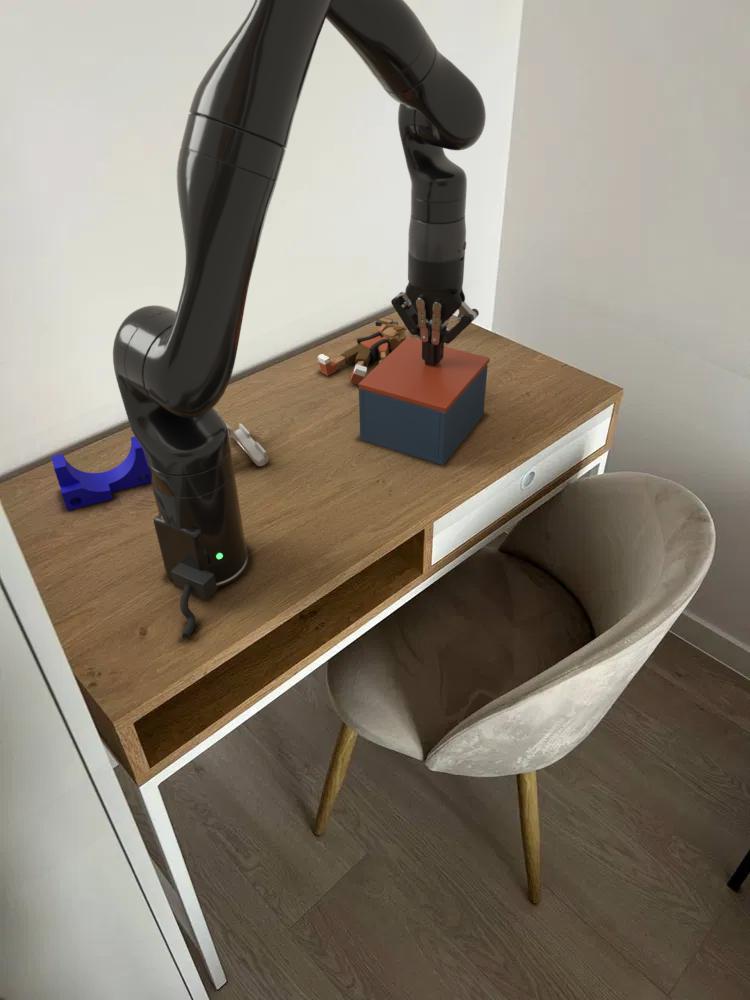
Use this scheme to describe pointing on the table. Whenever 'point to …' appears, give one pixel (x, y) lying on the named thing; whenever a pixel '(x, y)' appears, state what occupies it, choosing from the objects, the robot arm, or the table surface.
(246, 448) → the tablet stand
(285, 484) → the table surface
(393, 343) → the character figurine
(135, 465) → the blue cradle bracket
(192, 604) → the table surface
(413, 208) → the robot arm
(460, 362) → the lid
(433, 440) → the sorter box
